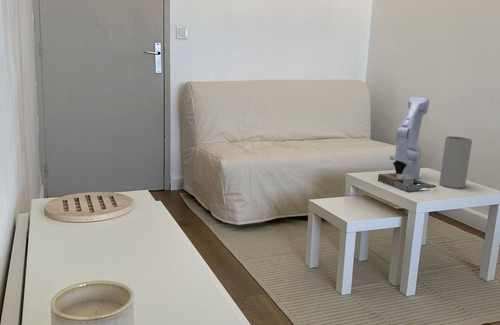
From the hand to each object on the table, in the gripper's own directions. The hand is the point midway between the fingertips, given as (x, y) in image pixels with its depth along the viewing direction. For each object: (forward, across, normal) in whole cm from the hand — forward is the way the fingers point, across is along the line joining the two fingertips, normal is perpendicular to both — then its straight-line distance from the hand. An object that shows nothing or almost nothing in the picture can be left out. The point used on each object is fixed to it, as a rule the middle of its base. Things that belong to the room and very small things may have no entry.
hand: (398, 175), depth 246 cm
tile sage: (+1, +6, 0) cm, 6 cm away
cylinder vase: (+4, +10, +27) cm, 29 cm away
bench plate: (+4, -1, 0) cm, 4 cm away
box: (+4, +10, 0) cm, 11 cm away
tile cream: (0, +3, 0) cm, 3 cm away
